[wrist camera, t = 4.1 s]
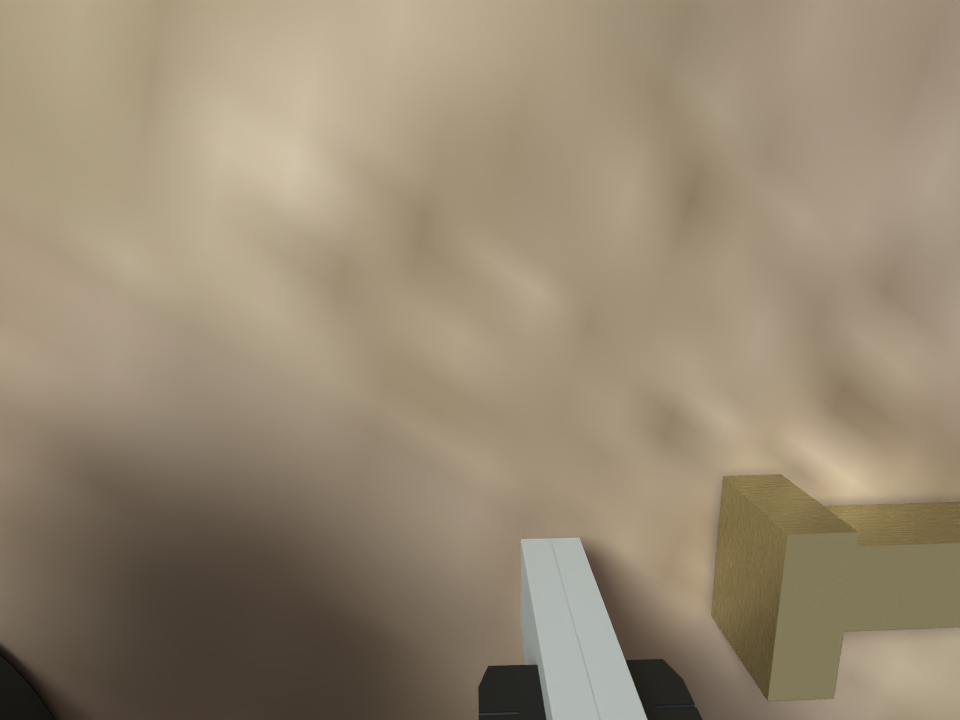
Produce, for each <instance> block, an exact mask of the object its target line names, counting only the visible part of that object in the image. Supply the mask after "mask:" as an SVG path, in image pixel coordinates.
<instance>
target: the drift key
mask: <svg viewBox="0 0 960 720" xmlns="http://www.w3.org/2000/svg"><path fill="white" fill-rule="evenodd" d="M711 616H712V617H713V619H714V620H715V622H716V623H717V625H718V626H719V628H720V629H721V631H722V632H723V634H724V635H725V637H726V638H727V640H728V642H729V643H730V645H731V646H732V648H733V649H734V651H735V652H736V654H737V655H738V657H739V658H740V660H741V661H742V663H743V664H744V666H745V667H746V669H747V670H748V672H749V673H750V675H751V677H752V678H753V680H754V681H755V683H756V684H757V686H758V687H759V689H760V690H761V692H762V693H763V695H764V696H765V698H766V699H767V701H788V700H813V699H834V693H835V687H836V680H837V674H838V667H839V661H840V654H841V647H842V641H843V634H844V632H846V631H873V630H900V629H927V628H954V627H960V502H943V503H910V504H878V505H846V506H823V505H821V504H820V503H819V502H817V501H816V500H815V499H813V498H812V497H811V496H809V495H808V494H807V493H805V492H804V491H803V490H801V489H800V488H799V487H797V486H796V485H795V484H793V483H792V482H790V481H789V480H788V479H786V478H785V477H784V476H782V475H781V474H779V475H745V476H724V478H723V489H722V501H721V512H720V523H719V535H718V546H717V557H716V569H715V580H714V591H713V603H712V614H711Z"/></svg>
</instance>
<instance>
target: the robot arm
mask: <svg viewBox="0 0 960 720" xmlns="http://www.w3.org/2000/svg"><path fill="white" fill-rule="evenodd" d="M521 637H522V645H523V652H524V660H525V665H508V666H488V668H487V670H486V672H485V674H484V676H483V678H482V681H481V683H480V685H479V687H478V691H479V720H702V718H701V716H700V714H699V712H698V710H697V708H695V705H694V702H693V699H692V697H691V695H690V693H689V691H688V689H687V687H686V685H685V683H684V681H683V679H682V678H681V677H680V676H679V675H678V674H677V673H676V672H675V671H674V670H673V669H672V668H671V667H670V666H669V665H668V664H667V663H666V662H665V661H664V660H663V659H651V660H625V658H624V656H623V653H622V650H621V648H620V645H619V642H618V640H617V637H616V634H615V632H614V629H613V626H612V624H611V621H610V618H609V616H608V613H607V610H606V608H605V605H604V602H603V600H602V597H601V594H600V592H599V589H598V586H597V584H596V581H595V578H594V576H593V573H592V570H591V568H590V565H589V562H588V560H587V557H586V554H585V551H584V549H583V546H582V543H581V541H580V538H549V539H521ZM0 720H53V718H52V717H51V715H50V713H49V712H48V710H47V709H46V707H45V706H44V704H43V703H42V701H41V700H40V699H39V697H38V696H37V695H36V694H35V692H34V691H33V690H32V689H31V687H30V686H29V685H28V684H27V683H26V682H25V680H24V679H23V678H22V677H21V676H20V675H19V674H18V673H17V672H16V671H15V670H14V669H13V668H12V667H11V666H10V665H9V664H8V663H7V662H6V661H5V660H4V659H3V658H2V657H1V656H0Z"/></svg>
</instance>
